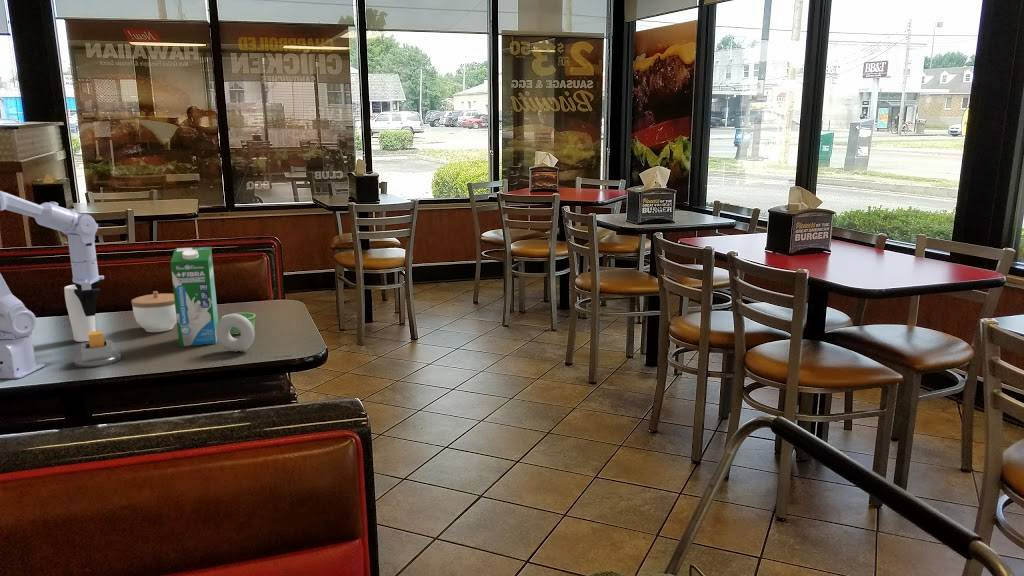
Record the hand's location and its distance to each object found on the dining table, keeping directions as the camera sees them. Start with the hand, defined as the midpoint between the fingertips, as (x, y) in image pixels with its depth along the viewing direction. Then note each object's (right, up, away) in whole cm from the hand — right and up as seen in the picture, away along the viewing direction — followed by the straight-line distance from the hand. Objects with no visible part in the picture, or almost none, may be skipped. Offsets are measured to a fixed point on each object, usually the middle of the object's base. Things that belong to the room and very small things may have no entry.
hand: (90, 312), depth 190 cm
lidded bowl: (+7, -6, +22) cm, 23 cm away
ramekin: (+31, -6, +19) cm, 37 cm away
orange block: (+6, -11, -8) cm, 15 cm away
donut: (+38, -10, -1) cm, 39 cm away
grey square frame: (+6, -12, -8) cm, 15 cm away
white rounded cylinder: (-8, -8, +11) cm, 16 cm away
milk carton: (+24, -8, +9) cm, 27 cm away
